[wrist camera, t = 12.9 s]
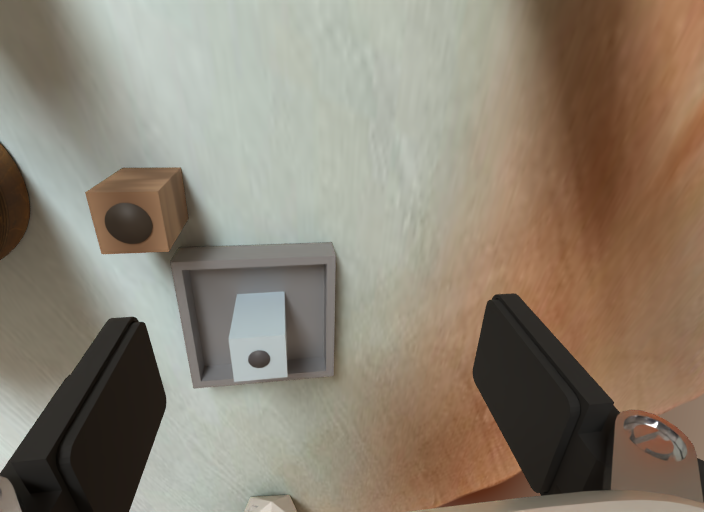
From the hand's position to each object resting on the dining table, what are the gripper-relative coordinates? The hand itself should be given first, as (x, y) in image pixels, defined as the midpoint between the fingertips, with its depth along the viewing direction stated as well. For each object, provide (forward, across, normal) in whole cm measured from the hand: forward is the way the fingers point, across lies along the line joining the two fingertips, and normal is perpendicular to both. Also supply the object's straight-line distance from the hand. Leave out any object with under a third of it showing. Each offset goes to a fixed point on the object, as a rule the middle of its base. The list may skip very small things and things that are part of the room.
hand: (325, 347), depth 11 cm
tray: (+25, +5, +16) cm, 30 cm away
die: (+24, +7, +47) cm, 53 cm away
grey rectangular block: (+24, +5, +16) cm, 30 cm away
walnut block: (+26, +13, +4) cm, 29 cm away
